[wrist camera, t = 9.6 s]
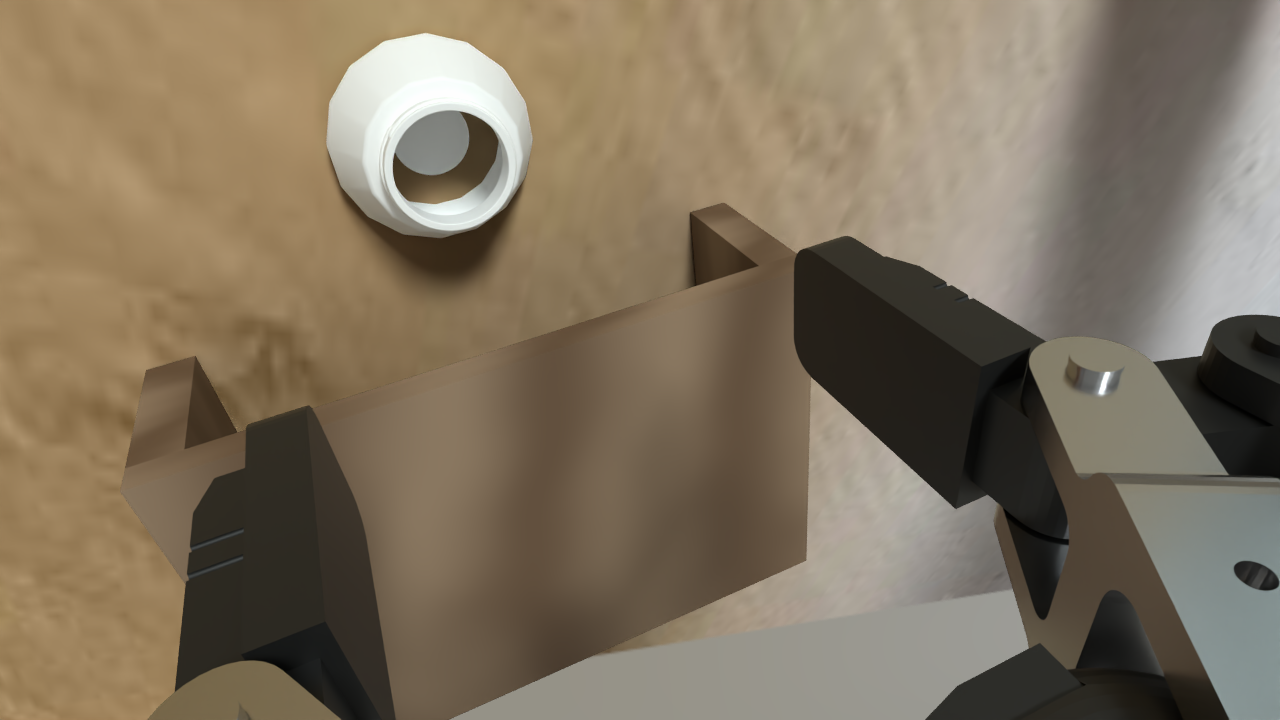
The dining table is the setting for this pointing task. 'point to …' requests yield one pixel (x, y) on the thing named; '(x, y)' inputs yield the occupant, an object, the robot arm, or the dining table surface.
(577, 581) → the low shelf
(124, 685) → the dining table surface
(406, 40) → the white jar
